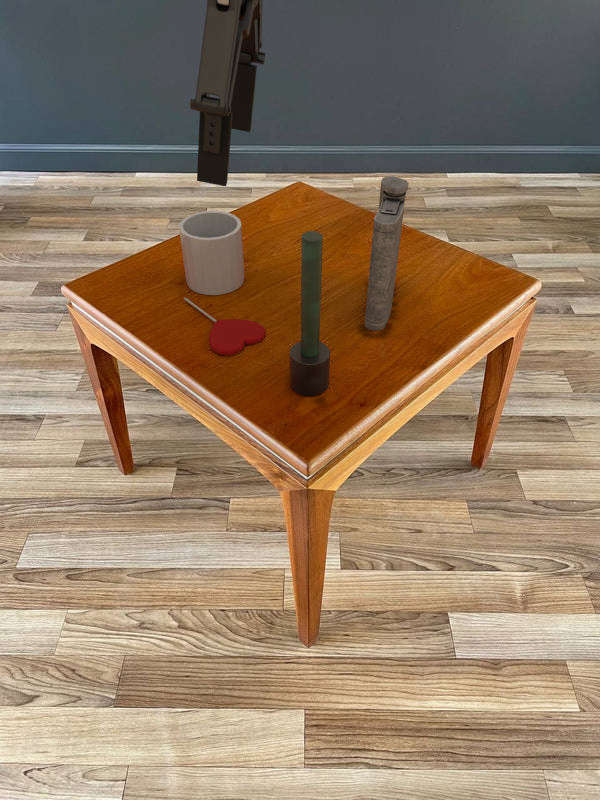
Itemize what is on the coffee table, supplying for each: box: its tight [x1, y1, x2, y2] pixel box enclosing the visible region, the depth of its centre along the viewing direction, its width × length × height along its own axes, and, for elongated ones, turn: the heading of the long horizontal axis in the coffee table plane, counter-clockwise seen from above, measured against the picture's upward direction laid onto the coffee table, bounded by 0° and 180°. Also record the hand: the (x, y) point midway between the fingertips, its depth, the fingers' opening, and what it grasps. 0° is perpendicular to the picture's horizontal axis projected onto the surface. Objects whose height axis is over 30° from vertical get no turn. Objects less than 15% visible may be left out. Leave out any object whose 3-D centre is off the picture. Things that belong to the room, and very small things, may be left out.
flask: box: [364, 175, 409, 332], centre depth 86 cm, size 4×14×18 cm, turn 170°
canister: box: [178, 210, 246, 296], centre depth 94 cm, size 9×9×9 cm
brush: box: [289, 230, 331, 397], centre depth 72 cm, size 5×5×20 cm
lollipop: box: [183, 297, 267, 357], centre depth 88 cm, size 8×1×15 cm
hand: (226, 153), depth 64 cm, fingers open, 13 cm apart
